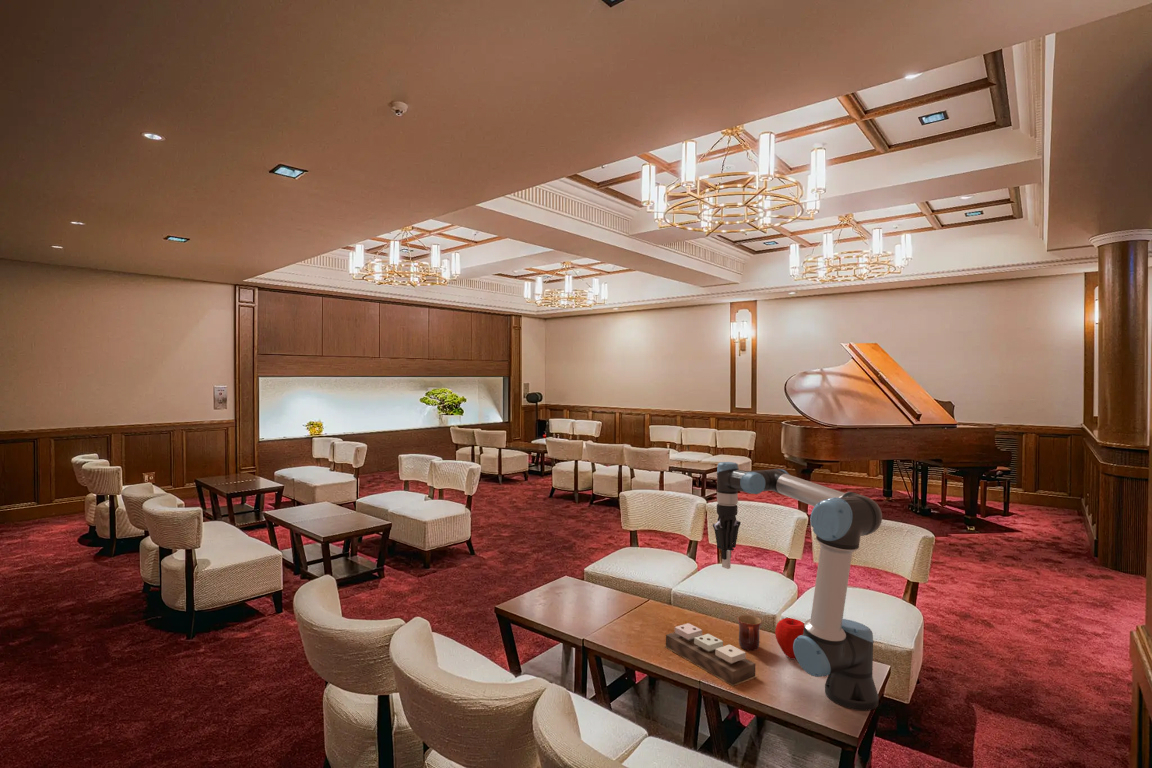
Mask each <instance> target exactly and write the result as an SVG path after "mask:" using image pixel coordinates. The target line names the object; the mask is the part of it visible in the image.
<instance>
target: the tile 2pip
mask: <svg viewBox="0 0 1152 768" xmlns="http://www.w3.org/2000/svg"><path fill="white" fill-rule="evenodd" d="M674 632H675V633H677V634H678V635H680V636H682V637H683V639H685V640H686V641H691V640H694V638H695V637H699V636H702V635H703V629H701V628H700V627H697V626H695V625H693V624H691V623H690V622H688V623H684V624H681V625H677V626H674Z"/></svg>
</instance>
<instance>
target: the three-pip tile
mask: <svg viewBox="0 0 1152 768" xmlns="http://www.w3.org/2000/svg"><path fill="white" fill-rule="evenodd" d="M694 644H696V645H698V646H700V647H702V648H703V650H705V651H707V652H712V651H714V649H717V648H720V647H723V646H724V641H723V640H722V639H720V638H717V637H716V636H714V635H712V634H710V633H705V634H702V636H699V637H695V638H694Z"/></svg>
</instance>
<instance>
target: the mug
mask: <svg viewBox="0 0 1152 768" xmlns="http://www.w3.org/2000/svg"><path fill="white" fill-rule="evenodd" d="M737 622H738V629H739V630H738V644H739V646H740V648H741V649H743V650H746V651H750V652H751V651H757V650H758V649H759V647H760V643H761V642H760V629H761V626H762V623H763V622H762V619H761V618H759V617H757V616H754V615H750V614H749V615H747V614H743V615H739V616H737Z"/></svg>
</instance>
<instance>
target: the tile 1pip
mask: <svg viewBox="0 0 1152 768" xmlns="http://www.w3.org/2000/svg"><path fill="white" fill-rule="evenodd" d="M715 655H716V656H718V657H720V658H722V659H724V661H725V662H727V663H729V664H734V663H736V662H737V661H740V660H743V659H745V658H746V657H747V655H746V651H744V650H742V649H740V648H739V647H735V646H734V645H731V644H730V643H729V644H727V645H723V647H720V648H717V649H715ZM746 659H747V658H746Z"/></svg>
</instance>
